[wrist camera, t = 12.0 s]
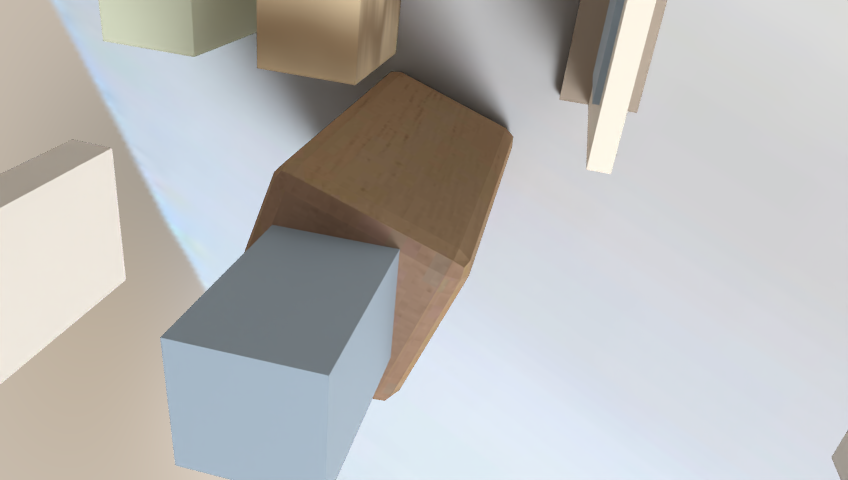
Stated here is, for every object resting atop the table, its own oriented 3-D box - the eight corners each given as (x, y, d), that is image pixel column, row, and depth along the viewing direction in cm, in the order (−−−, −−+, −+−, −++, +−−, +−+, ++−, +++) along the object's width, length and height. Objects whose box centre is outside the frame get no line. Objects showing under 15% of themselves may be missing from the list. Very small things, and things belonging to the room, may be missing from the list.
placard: (602, -106, 39) (605, -107, 28) (690, -95, 38) (730, -92, 27) (560, 95, 45) (548, 162, 33) (636, 108, 44) (649, 181, 33)
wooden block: (342, 179, 51) (212, 323, 34) (393, 62, 46) (271, 161, 29) (457, 240, 51) (386, 415, 34) (520, 130, 46) (475, 269, 29)
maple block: (316, -54, 44) (256, -43, 36) (404, -41, 43) (362, -27, 35) (313, 39, 47) (257, 68, 39) (396, 52, 46) (355, 85, 38)
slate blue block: (272, 224, 30) (160, 337, 23) (399, 249, 29) (329, 375, 22) (274, 331, 33) (175, 465, 25) (390, 357, 32) (325, 503, 24)
